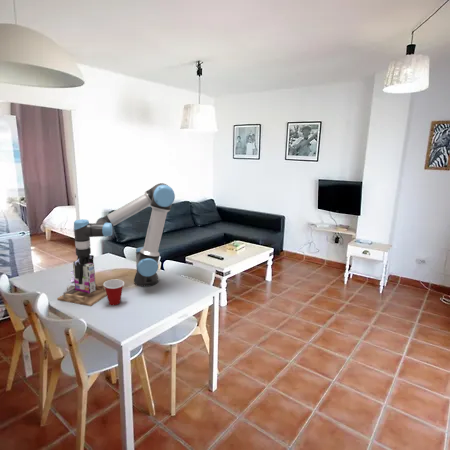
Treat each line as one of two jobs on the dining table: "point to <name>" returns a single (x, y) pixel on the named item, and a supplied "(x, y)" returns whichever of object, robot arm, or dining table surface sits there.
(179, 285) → the dining table surface
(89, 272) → the candy bar box
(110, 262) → the dining table surface
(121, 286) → the plastic cup
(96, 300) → the board
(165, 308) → the dining table surface
